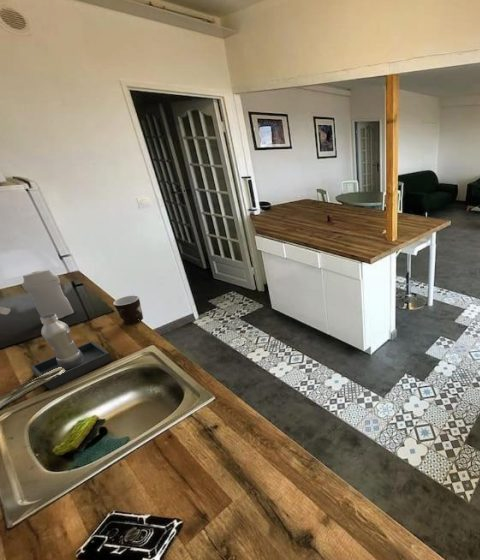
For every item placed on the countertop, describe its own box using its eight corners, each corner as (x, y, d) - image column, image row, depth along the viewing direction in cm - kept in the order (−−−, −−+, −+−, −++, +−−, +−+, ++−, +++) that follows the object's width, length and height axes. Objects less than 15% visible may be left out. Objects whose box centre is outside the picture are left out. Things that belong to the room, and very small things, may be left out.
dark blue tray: (50, 390, 98) (45, 381, 97) (34, 374, 104) (29, 366, 103) (112, 360, 111) (109, 352, 110) (95, 348, 117) (92, 340, 116)
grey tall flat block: (73, 310, 141) (52, 266, 132) (76, 313, 139) (54, 268, 130) (40, 320, 133) (15, 274, 124) (43, 323, 131) (18, 277, 122)
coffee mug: (134, 314, 140) (126, 294, 135) (151, 315, 139) (144, 296, 134) (109, 328, 129) (100, 308, 125) (127, 330, 128) (119, 309, 124)
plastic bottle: (85, 356, 112) (61, 308, 103) (87, 365, 107) (62, 316, 99) (60, 364, 107) (33, 315, 99) (61, 374, 103) (33, 324, 95)
